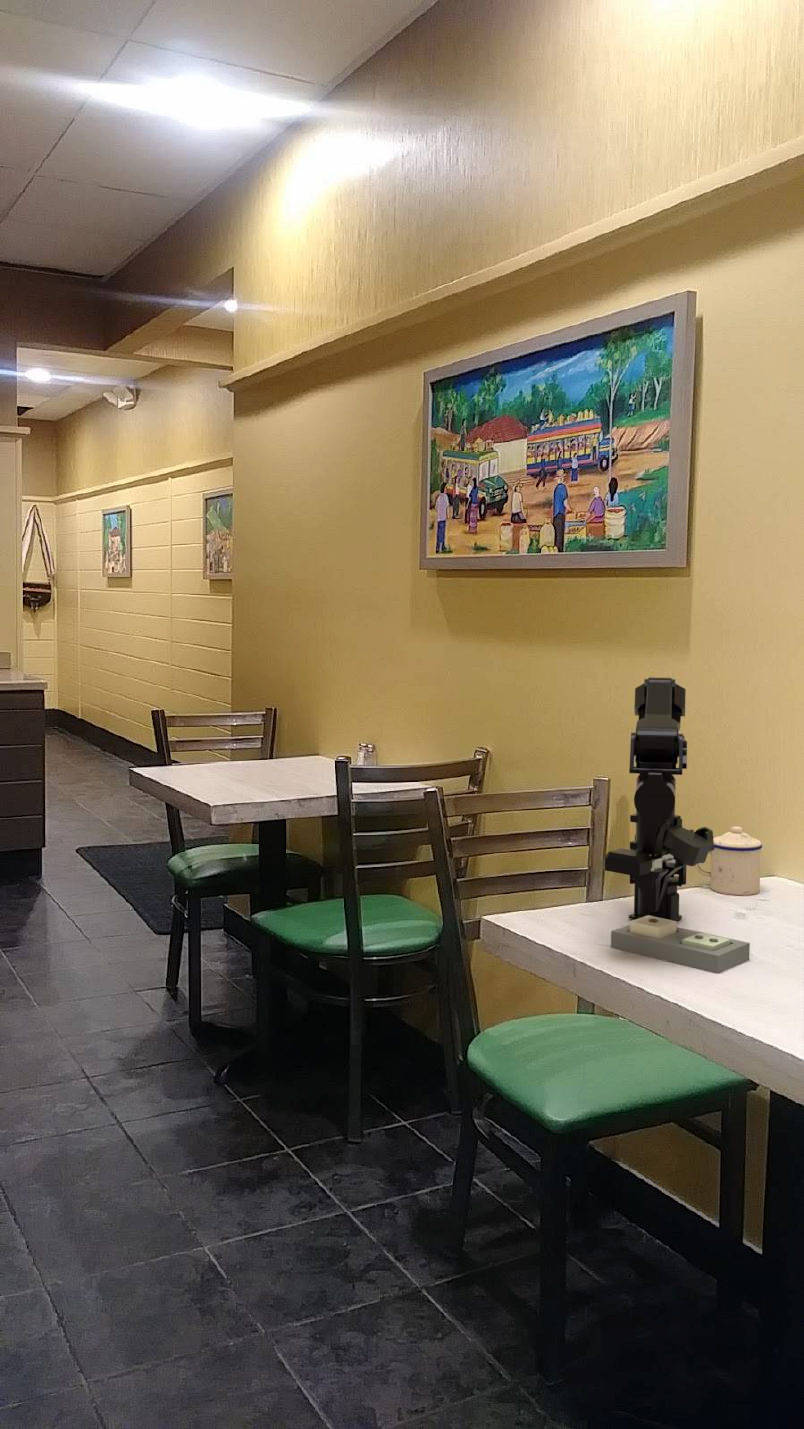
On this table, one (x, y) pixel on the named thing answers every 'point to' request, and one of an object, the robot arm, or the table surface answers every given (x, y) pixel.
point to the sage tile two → (706, 941)
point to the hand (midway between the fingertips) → (653, 910)
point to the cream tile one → (653, 926)
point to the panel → (681, 949)
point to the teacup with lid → (735, 864)
